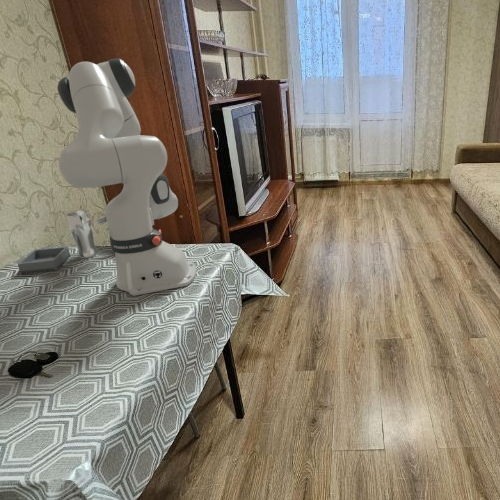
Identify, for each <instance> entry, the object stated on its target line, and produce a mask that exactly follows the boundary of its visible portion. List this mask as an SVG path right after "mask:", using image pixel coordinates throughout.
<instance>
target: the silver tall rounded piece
mask: <svg viewBox="0 0 500 500" xmlns="http://www.w3.org/2000/svg"><path fill="white" fill-rule="evenodd" d="M66 219H67V224H68V228H69V231H70V234H71V236H72V238H73V240H74V242H75V244H76V246H77V249H78V251H77V252H78V258H80V259H90V258H93V257H96V256H97V255H98V254H99V250H98V249H97V247H96V245H95V239H94V229H93V224H92V220H91V217H90V214H89V211H88V210H87V209H77V210H73V211H70V212H68V213H66Z"/></svg>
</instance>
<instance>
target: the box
mask: <svg viewBox="0 0 500 500" xmlns="http://www.w3.org/2000/svg"><path fill="white" fill-rule="evenodd" d="M70 257H71V253H70V250H69V247H68V246H59V247H51V248H50V247H49V248H40V249H33V251H31V252H30V253H29V254H27V255H26V256H25V257H24V258H23V259H22V260H20V261H19V262H18V263H17V267H18V269H19V272H20V275H27V274H37V273H44V272H45V273H47V272H56V271H58V270H59V269H60V268H61V267H62V266H63V265H64V264H65V262H66V261H68V259H69V258H70Z"/></svg>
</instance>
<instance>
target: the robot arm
mask: <svg viewBox="0 0 500 500" xmlns="http://www.w3.org/2000/svg"><path fill="white" fill-rule="evenodd" d="M136 88H137V87H136V78H135V75H134V73H133V70H132V69H131V67H130V66H129V65H128V64H127V63H126V61H124V60H123V59H121V58H111V59H108V60H107V61H103V62H99V63H94V62H91V61H80V62H77V63H75V64H74V65H73V66H72V67H71V69H70V71H69V73H68V75H65V76H64V77H62V78H61V79H60V80H59V81H58V84H57V92H58V96H59V98H60V101H61V103H63V105H64V106H65V108H66V109H68V110H69V111H70V112H72V113H74V114H76V117H77V118H76V119H77V123H78V130H77V134H76V135H75V137H74V139H73V140H72V141H71V142H70V143H69V144H68V145H67V146H65V147H64V148H63V149H62V151H61V153H60V155H59V158H58V160H59V161H58V167H59V171H60V173H61V175H62V177H63V179H64V180H65V181H66V182H67V183H68V184H69V185H70V186H72V187H74V188H77V189H78V188H81V189H82V188H86V189H87V188H89V189H90V188H92V189H94V188H95V189H96V188H100V187H105V186H106V187H107V186H112V185H117V184H123V188H122V190H121V192H120V193H119V194H118V195H116V196H115V197H113V198H112V199H111V200H110V201H109V202H108V203H107V204H106V207H105V210H104V211H103V213H102V214H103V216H102V217H101V218H97V220H96V222H97V224H98V225H105V223H107V228H108V231H109V234H110V235H109V243H110V248H111V252H112V254H113V256H114V258H115V259H114V260H115V267H116V282H115V285H116V287H117V289H119V290H121V291H124V292H128V294H129V295H130V296H140V295H145V294H150V293H151V294H152V293H154V292H155V293H156V292H160V291H166V290H171V289H176V288H182V287H186V286H189V285H190V284H192V282H194V279H195V278H196V275H197V268H196V264H195V263H194V262H192V261H188V260H187V258H186V256H185V253H184V252H183V250H182V249H180V248H179V247H177V246H174V245H172V244H170V243H168V242H166V241H164V240H163V237H162V230H161V229H158V230H157V229H155V228H153V226H154V225H155V221H156V220H160V219H162V218H166V217H168V216H169V215H172V214H173V213H175V212H176V211H177V209H178V207H179V199H178V197H177V195H176V194H175V193H174V192H173V191H172V190H171V187H170V183H169V179H168V177H167V176H166V175H165V174H164V171H165V169H166V167H167V163H168V152H167V149H166V147H165V145H164V143H163V142H162V140H160V139H159V138H158V137H156V136H154V135H141V133H142V132H141V131H142V129H141V125H140V121H139V119H138V117H137V115H136V112H135V110H134V109H133V107H132V105H131V104H130V102H129V100H128V99H127V98H130V97H131V95H132V94H133V93H134V92H135V90H136ZM154 220H155V221H154Z"/></svg>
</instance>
